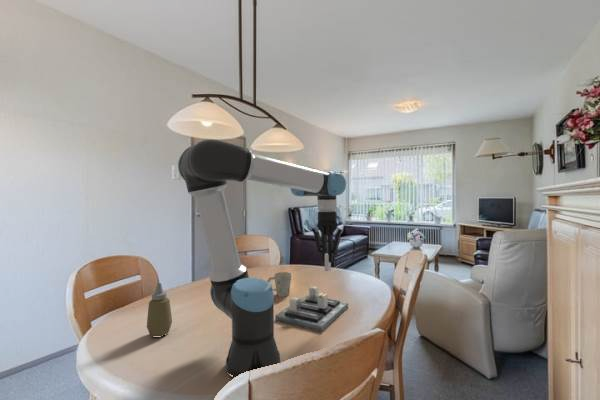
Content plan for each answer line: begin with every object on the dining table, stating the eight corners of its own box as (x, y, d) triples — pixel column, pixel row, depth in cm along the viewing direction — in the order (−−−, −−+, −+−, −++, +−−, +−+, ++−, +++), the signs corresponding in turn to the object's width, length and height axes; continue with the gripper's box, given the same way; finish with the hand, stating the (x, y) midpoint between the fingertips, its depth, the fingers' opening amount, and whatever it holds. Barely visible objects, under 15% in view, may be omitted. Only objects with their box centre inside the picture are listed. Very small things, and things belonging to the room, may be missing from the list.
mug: (289, 298, 138) (289, 276, 138) (263, 296, 140) (263, 275, 140) (293, 292, 146) (293, 272, 146) (269, 291, 148) (269, 271, 148)
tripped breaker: (324, 309, 115) (324, 296, 115) (317, 307, 116) (317, 294, 116) (327, 306, 117) (327, 293, 117) (320, 305, 119) (320, 292, 119)
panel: (322, 331, 103) (321, 309, 102) (275, 320, 113) (275, 299, 112) (348, 307, 125) (348, 288, 125) (307, 299, 135) (307, 282, 135)
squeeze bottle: (165, 327, 108) (165, 278, 107) (176, 333, 102) (175, 282, 102) (142, 335, 101) (141, 283, 101) (153, 342, 96) (152, 288, 96)
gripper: (345, 210, 116) (346, 269, 116) (316, 210, 122) (316, 266, 122) (339, 211, 109) (340, 274, 109) (308, 211, 115) (308, 270, 115)
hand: (327, 270), depth 116 cm, fingers closed
